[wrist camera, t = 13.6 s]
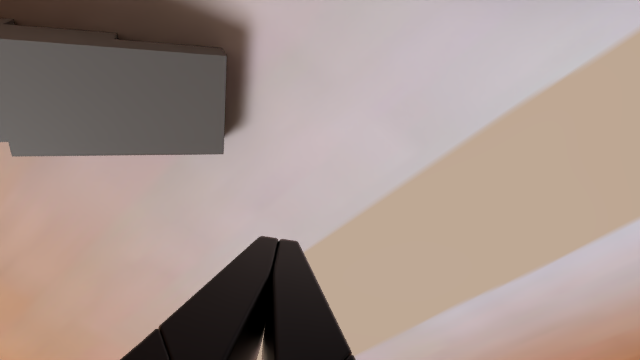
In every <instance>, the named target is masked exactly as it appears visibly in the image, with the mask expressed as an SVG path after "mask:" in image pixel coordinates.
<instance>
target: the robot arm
mask: <svg viewBox="0 0 640 360" xmlns="http://www.w3.org/2000/svg"><path fill="white" fill-rule="evenodd" d="M264 329H265V330H264ZM263 334H264V338H263ZM262 338H263V350H262V360H355V358H354V356H353V355H351V354H352V352H351V350H350V348H349V346H348V344H347V342H346V339H345V338H344V335H343V333H342V331H341V329H340V327H339V326H338V323H337V321H336V319H335V317H334V315H333V313H332V311H331V309H330V307H329V304H328V302H327V300H326V298H325V296H324V294H323V292H322V290H321V288H320V286H319V284H318V282H317V280H316V278H315V276H314V274H313V272H312V270H311V267H310V265H309V263H308V262H307V260H306V257H305V255H304V253H303V251H302V249H301V247H300V245H299V243H298V242H297V241H293V240H286V239H281V240H280V241H278V239H277V238H272V237H265V236H261V237H259V238H258V239H256V240H255V241H254V242H253V243H252V244H251V245H250V246H249V247H247V248H246V249H245V250H244V251H243V252H242V253H241V254H240V255H238V256H237V257H236V258H235V259H234V260H233V261H232V262H231V263H230V264H228V265H227V266H226V267H225V268H224V269H223V270H222V271H221V272H219V273H218V274H217V275H216V276H215V277H214V278H213V279H212V280H210V281H209V282H208V283H207V284H206V285H205V286H204V287H203V288H201V289H200V290H199V291H198V292H197V293H196V294H195V295H194V296H192V297H191V298H190V299H189V300H188V301H187V302H186V303H185V304H184V305H182V306H181V307H180V308H179V309H178V310H177V311H176V312H175V313H173V314H172V315H171V316H170V317H169V318H168V319H167V320H166V321H164V322H163V323H162V324H161V325H160V326H159V329H155V330H154V331H153V332H152V333H151V334H150V335H148V336H147V337H146V338H145V339H144V340H143V341H142V342H141V343H139V344H138V345H137V346H136V347H135V348H133V349H132V350H131V351H130V352H129V353H128V354H126V355H125V356H124V357H123V358H122V359H120V360H256V359H257V356H258V353H259V350H260V346H261V342H262Z"/></svg>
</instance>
